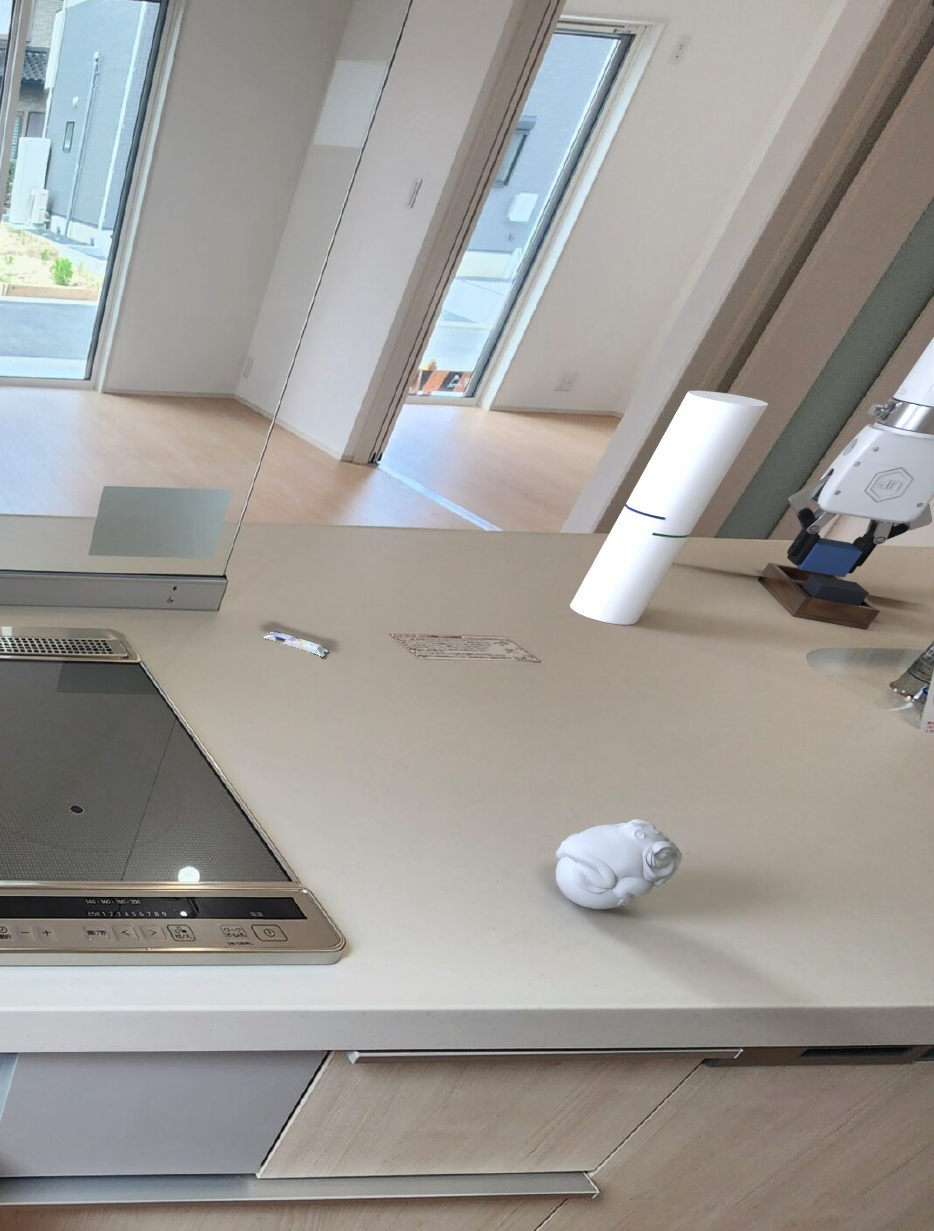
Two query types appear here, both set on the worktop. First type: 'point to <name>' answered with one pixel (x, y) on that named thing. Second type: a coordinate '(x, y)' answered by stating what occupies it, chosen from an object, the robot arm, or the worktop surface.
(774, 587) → the holder
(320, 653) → the granola bar
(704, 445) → the cylindrical container
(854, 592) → the pad charcoal
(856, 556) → the pad blue
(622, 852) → the frog figurine
